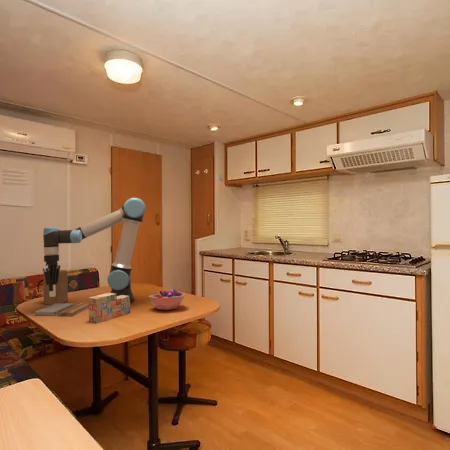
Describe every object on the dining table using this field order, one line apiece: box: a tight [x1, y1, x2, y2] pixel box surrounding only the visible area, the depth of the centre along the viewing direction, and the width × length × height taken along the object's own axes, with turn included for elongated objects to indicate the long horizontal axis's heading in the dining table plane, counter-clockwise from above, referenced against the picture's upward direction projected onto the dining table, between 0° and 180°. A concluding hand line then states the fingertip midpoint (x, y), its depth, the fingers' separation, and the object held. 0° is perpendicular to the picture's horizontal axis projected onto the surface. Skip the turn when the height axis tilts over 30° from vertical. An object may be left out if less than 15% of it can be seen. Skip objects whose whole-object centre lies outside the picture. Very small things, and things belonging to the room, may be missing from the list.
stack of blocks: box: [88, 292, 131, 324], centre depth 171 cm, size 21×6×12 cm, turn 148°
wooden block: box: [42, 269, 69, 306], centre depth 203 cm, size 10×10×20 cm
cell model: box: [148, 288, 186, 311], centre depth 185 cm, size 17×20×11 cm
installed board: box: [57, 302, 89, 318], centre depth 182 cm, size 8×20×2 cm, turn 175°
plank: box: [34, 302, 76, 317], centre depth 183 cm, size 12×18×2 cm, turn 175°
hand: (52, 296), depth 184 cm, fingers closed
